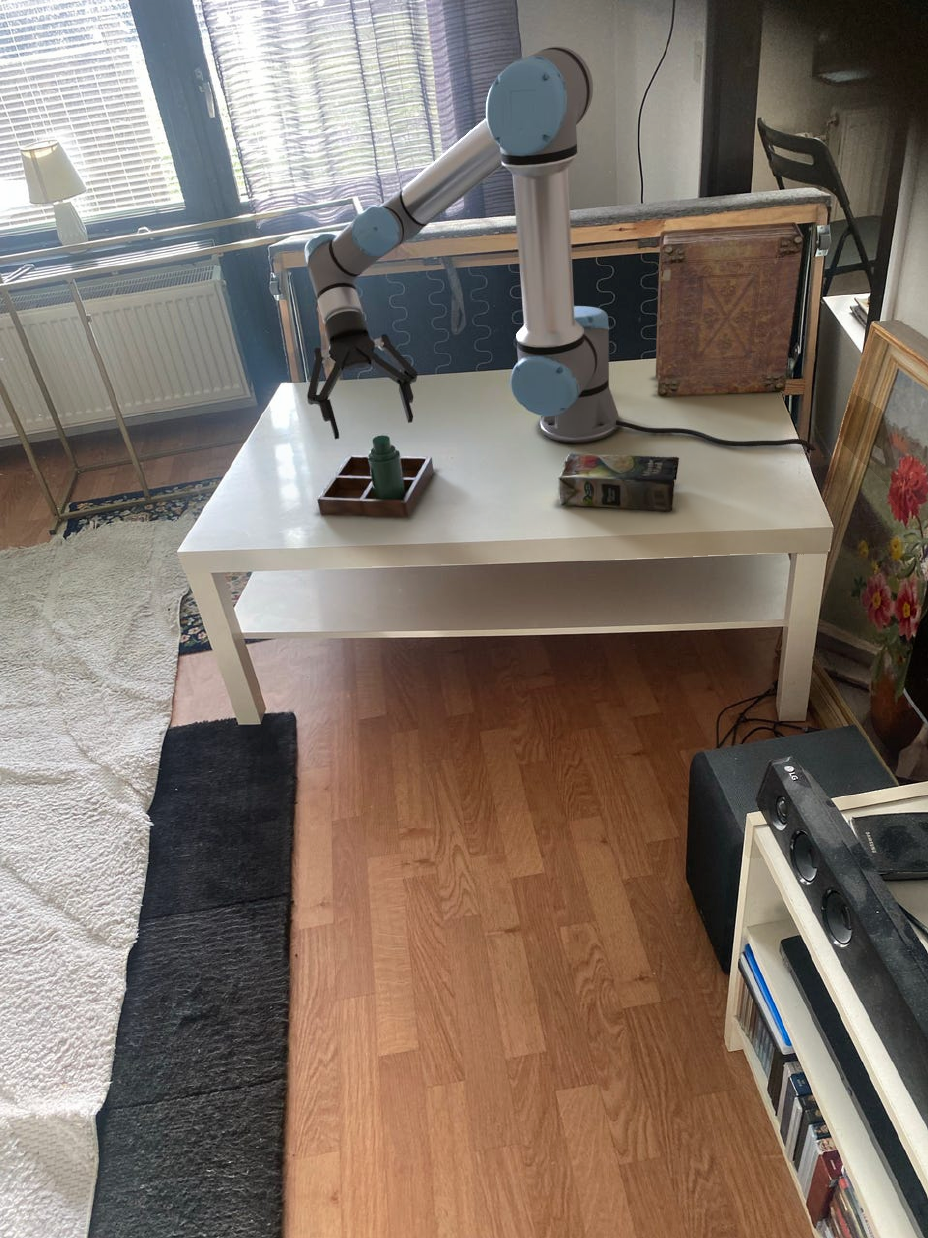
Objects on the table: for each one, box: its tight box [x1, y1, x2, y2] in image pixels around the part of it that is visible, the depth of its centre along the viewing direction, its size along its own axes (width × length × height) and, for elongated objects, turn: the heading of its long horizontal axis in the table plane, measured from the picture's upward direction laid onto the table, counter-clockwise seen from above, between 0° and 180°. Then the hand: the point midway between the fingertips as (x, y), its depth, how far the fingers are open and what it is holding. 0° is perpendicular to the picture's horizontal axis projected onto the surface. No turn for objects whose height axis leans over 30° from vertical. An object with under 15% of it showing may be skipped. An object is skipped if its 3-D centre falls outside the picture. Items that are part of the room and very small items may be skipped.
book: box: [655, 221, 805, 397], centre depth 179 cm, size 25×9×30 cm, turn 81°
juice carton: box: [557, 453, 680, 512], centre depth 155 cm, size 20×10×6 cm, turn 74°
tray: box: [316, 454, 434, 519], centre depth 165 cm, size 17×17×3 cm
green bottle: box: [367, 434, 406, 500], centre depth 158 cm, size 6×6×12 cm
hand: (374, 428), depth 162 cm, fingers open, 13 cm apart
